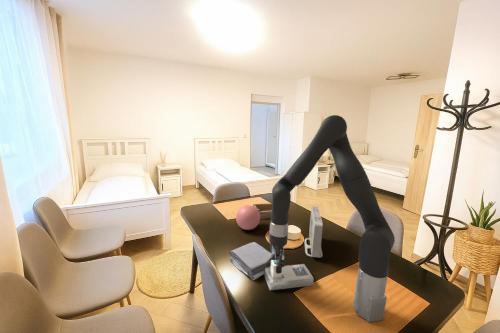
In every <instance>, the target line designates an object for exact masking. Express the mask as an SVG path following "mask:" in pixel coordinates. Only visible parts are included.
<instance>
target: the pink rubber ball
mask: <svg viewBox="0 0 500 333" xmlns="http://www.w3.org/2000/svg"><path fill="white" fill-rule="evenodd" d="M259 210H260V209H257V208H255V207H253V205H249V204H247V205H243V206H240V208H239V209H238V210H237V212H236V214H235V220H236V224H237V225H238V226H239V227H240V228H241V229H242V230H246V231H250V230H251V231H252V230H254V229H255V228H257V226H258V225H260V222H261V219H260V214H259V212H260V211H261V210H260V211H259Z"/></svg>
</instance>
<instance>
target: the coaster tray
mask: <svg viewBox="0 0 500 333" xmlns="http://www.w3.org/2000/svg"><path fill="white" fill-rule="evenodd" d="M272 203H273V202H272ZM272 203H271V202H270V203H253V204H252V206H253V207H255V208H257V209H260V210H259V214H260V220H266V219H271V211H272Z"/></svg>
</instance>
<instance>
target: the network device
mask: <svg viewBox="0 0 500 333" xmlns="http://www.w3.org/2000/svg"><path fill="white" fill-rule="evenodd" d="M323 226H324V223H323V220H322V216H321V212H320V209H319V207H318V206H311V210H310V220H309V230H308V232H309V233H308V237H306V238H304V252H305V254H306V256H308V257H313V258H322V257H323V251H322V239H323V237H322V236H323V229H324V227H323ZM307 241H309V244H307ZM308 250H310V253H311V254H310V253H308Z"/></svg>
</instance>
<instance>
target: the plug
mask: <svg viewBox="0 0 500 333" xmlns="http://www.w3.org/2000/svg"><path fill="white" fill-rule="evenodd" d="M278 261H279V260H278ZM282 272H283V267H282ZM270 276H271V278H272V279H277V278H282V273H280V274H277V273H276V260H271V271H270Z"/></svg>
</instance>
